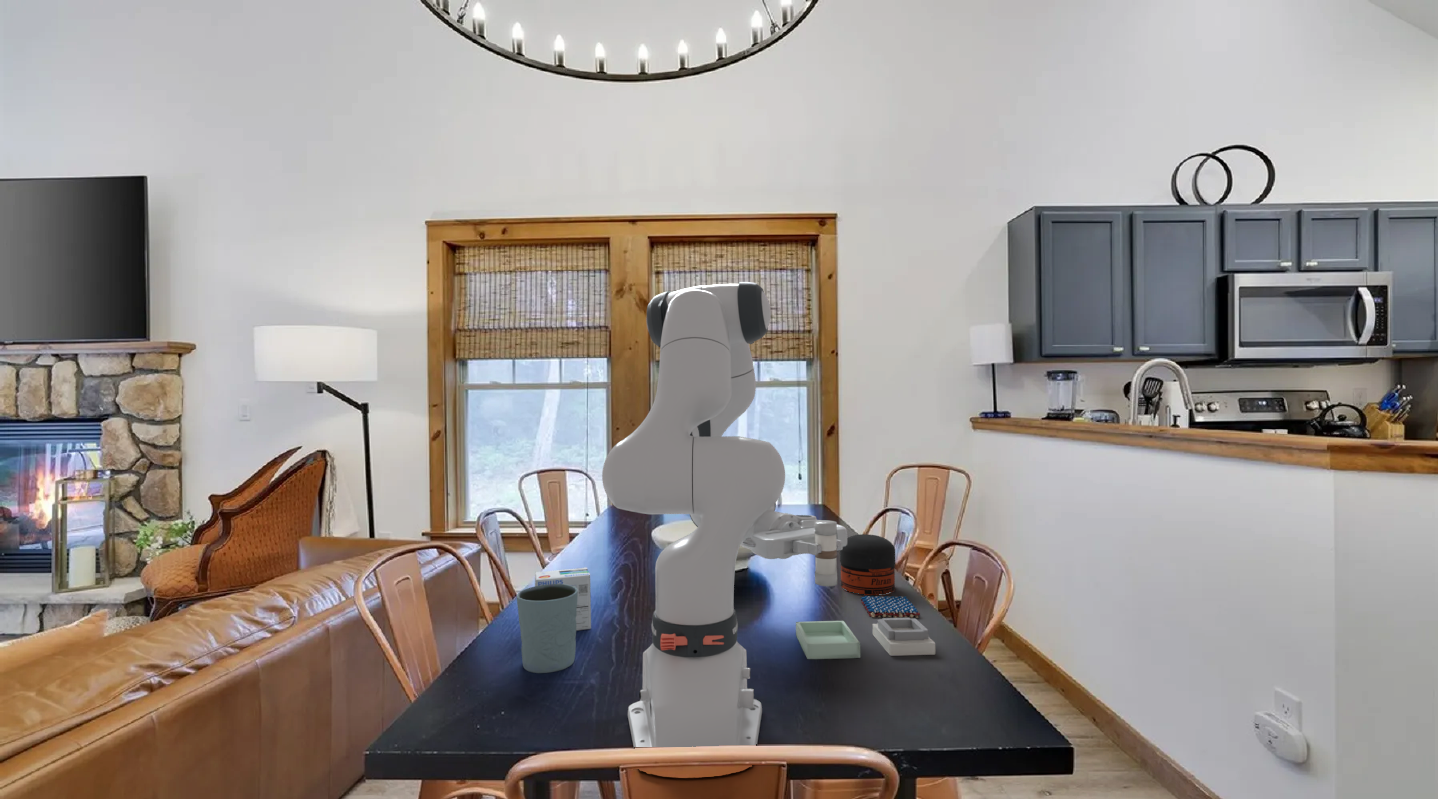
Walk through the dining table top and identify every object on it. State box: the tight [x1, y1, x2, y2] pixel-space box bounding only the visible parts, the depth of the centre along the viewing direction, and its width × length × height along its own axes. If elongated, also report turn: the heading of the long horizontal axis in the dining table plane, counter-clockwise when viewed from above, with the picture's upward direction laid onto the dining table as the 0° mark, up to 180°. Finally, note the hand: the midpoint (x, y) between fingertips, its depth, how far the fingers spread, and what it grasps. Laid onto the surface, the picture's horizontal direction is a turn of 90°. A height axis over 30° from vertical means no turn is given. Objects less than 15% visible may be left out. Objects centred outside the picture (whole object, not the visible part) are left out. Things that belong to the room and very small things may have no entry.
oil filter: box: [839, 533, 896, 596], centre depth 145 cm, size 13×12×13 cm
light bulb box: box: [534, 567, 592, 631], centre depth 120 cm, size 11×7×11 cm, turn 108°
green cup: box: [516, 584, 578, 674], centre depth 103 cm, size 10×10×12 cm
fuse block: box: [872, 617, 936, 657], centre depth 110 cm, size 10×8×4 cm
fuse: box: [814, 519, 838, 587], centre depth 109 cm, size 4×4×11 cm
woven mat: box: [860, 595, 921, 619], centre depth 129 cm, size 10×11×2 cm
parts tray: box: [795, 620, 861, 660], centre depth 109 cm, size 11×9×2 cm
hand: (829, 548), depth 108 cm, fingers closed on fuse, 4 cm apart
